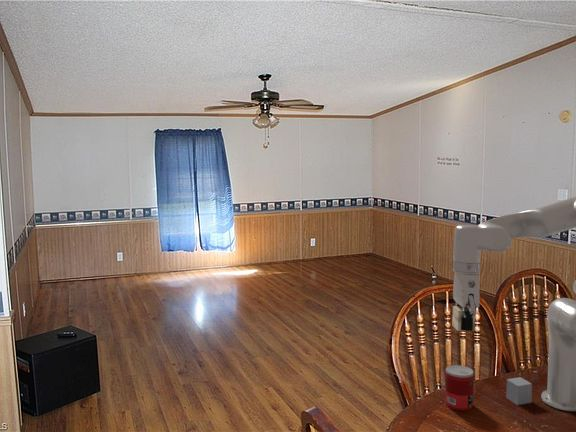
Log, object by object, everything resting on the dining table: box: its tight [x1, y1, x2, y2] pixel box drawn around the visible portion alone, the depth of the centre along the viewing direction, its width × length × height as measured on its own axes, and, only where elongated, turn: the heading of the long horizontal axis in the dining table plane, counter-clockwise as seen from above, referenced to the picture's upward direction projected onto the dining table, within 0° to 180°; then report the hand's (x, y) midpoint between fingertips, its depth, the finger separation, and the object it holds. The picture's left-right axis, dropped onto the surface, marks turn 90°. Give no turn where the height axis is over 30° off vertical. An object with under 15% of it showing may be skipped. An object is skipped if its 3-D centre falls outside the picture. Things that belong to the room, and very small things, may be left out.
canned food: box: [444, 364, 475, 412], centre depth 157 cm, size 8×8×11 cm
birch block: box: [451, 305, 476, 332], centre depth 155 cm, size 5×5×6 cm
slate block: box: [505, 376, 533, 406], centre depth 159 cm, size 5×5×6 cm
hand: (463, 326), depth 155 cm, fingers closed on birch block, 5 cm apart
